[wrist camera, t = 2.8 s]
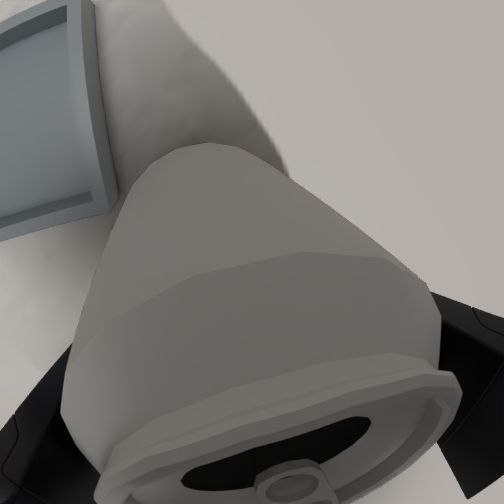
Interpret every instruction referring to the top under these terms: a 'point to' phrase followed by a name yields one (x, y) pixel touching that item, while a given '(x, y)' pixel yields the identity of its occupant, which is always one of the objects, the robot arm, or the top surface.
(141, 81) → the top surface
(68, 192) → the bin
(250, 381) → the can
